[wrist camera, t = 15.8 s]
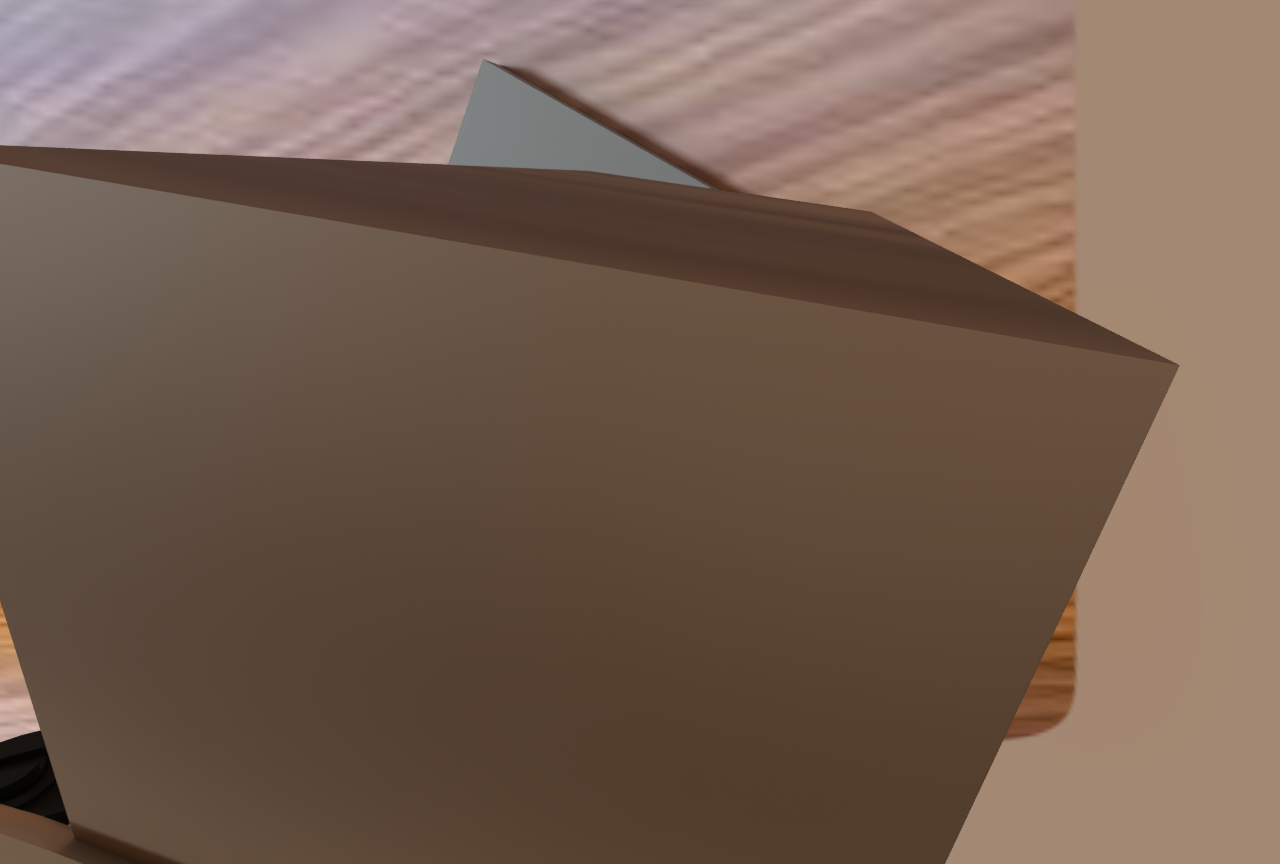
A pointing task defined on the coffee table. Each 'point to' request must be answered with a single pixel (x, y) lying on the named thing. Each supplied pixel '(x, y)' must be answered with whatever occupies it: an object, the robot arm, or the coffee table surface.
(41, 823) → the robot arm
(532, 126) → the board
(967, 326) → the brown banded block
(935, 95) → the coffee table surface
